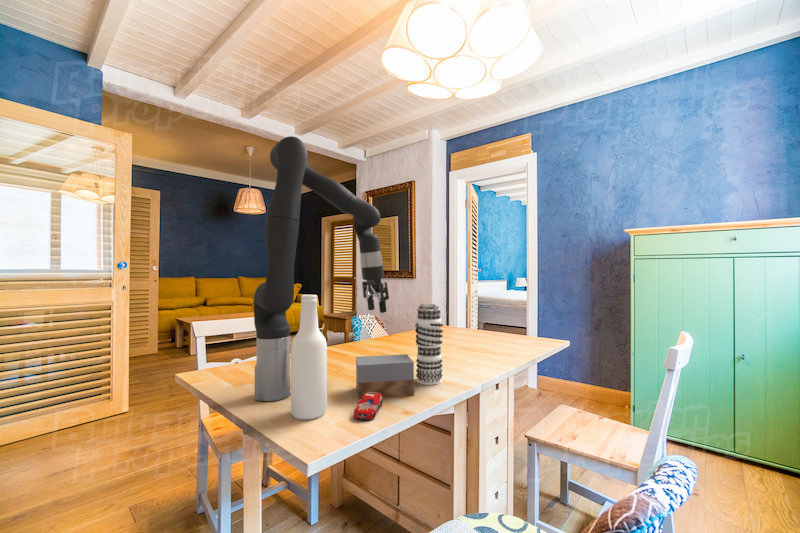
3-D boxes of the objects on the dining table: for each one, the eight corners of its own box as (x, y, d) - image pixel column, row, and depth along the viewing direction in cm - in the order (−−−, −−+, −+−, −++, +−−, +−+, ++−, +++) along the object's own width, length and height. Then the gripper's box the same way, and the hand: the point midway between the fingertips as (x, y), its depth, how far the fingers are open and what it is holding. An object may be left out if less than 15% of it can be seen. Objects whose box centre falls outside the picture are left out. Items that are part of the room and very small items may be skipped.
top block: (358, 383, 99) (358, 365, 99) (356, 372, 109) (356, 356, 109) (413, 379, 102) (413, 362, 102) (406, 370, 112) (406, 354, 112)
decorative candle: (443, 376, 120) (442, 303, 120) (443, 385, 110) (443, 305, 111) (416, 376, 121) (415, 303, 121) (414, 384, 111) (414, 305, 112)
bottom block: (358, 401, 99) (358, 383, 99) (356, 389, 109) (356, 373, 109) (414, 397, 102) (414, 379, 102) (407, 386, 112) (407, 370, 112)
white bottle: (284, 413, 89) (284, 295, 89) (315, 404, 95) (315, 293, 96) (302, 424, 83) (302, 296, 83) (333, 413, 89) (333, 294, 89)
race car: (372, 423, 84) (372, 407, 84) (350, 422, 85) (350, 405, 85) (385, 403, 97) (385, 388, 97) (366, 401, 98) (366, 387, 98)
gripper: (353, 266, 126) (358, 311, 127) (372, 266, 114) (377, 315, 115) (371, 264, 130) (376, 307, 131) (391, 263, 118) (397, 311, 119)
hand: (377, 311), depth 123 cm, fingers open, 8 cm apart
